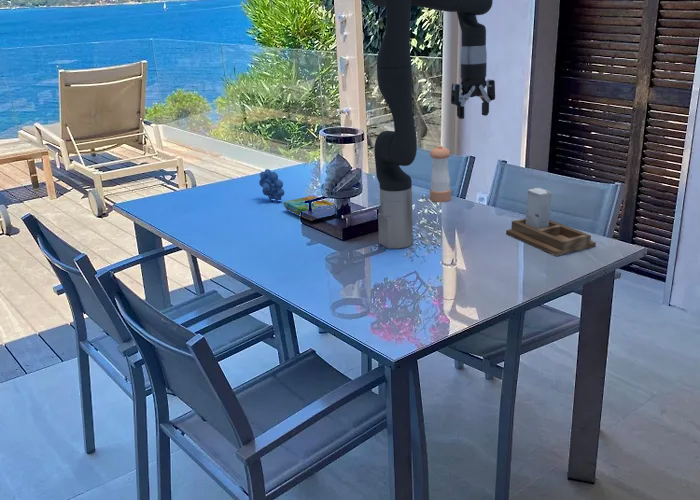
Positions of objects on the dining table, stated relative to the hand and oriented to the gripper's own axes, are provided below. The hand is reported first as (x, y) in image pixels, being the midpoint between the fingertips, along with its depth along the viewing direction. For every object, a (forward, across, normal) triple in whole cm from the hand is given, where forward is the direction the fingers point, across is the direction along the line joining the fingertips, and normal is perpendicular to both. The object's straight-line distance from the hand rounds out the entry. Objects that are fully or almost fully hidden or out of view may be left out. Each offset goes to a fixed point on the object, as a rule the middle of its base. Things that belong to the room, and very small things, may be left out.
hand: (473, 116), depth 207 cm
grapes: (+33, -47, +60) cm, 83 cm away
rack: (+33, +8, -27) cm, 43 cm away
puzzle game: (+34, -40, +36) cm, 64 cm away
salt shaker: (+33, +5, +27) cm, 43 cm away
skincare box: (+32, +8, -21) cm, 39 cm away
